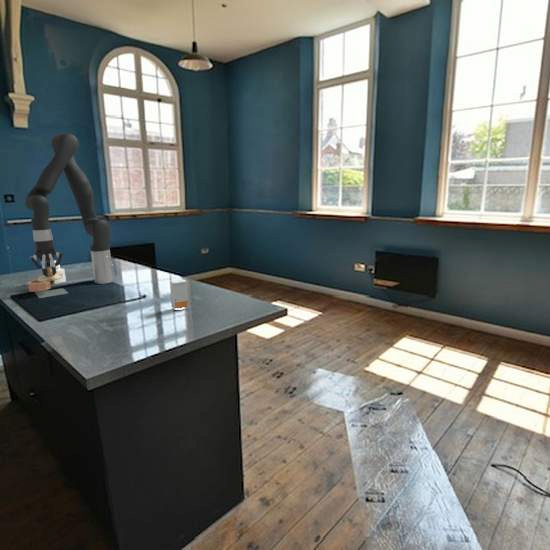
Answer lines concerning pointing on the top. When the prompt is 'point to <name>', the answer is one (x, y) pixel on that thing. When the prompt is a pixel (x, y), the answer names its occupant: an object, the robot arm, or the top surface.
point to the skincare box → (179, 293)
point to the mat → (51, 293)
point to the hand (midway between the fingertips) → (49, 275)
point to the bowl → (38, 286)
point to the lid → (50, 275)
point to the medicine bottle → (58, 270)
